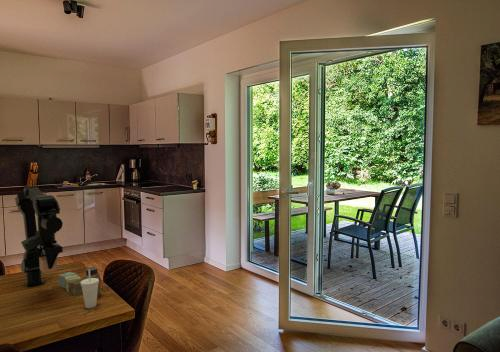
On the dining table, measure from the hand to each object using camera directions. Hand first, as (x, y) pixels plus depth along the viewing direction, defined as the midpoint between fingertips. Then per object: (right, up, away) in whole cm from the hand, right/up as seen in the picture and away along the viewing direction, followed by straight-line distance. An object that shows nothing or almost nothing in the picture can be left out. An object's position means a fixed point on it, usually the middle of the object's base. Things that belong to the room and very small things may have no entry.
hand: (48, 267), depth 146 cm
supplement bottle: (+17, -12, +1) cm, 21 cm away
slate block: (+1, -11, +14) cm, 18 cm away
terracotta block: (0, -1, 0) cm, 1 cm away
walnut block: (+9, -12, +5) cm, 16 cm away
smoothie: (+20, -13, -8) cm, 25 cm away
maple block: (+5, -12, +9) cm, 16 cm away
